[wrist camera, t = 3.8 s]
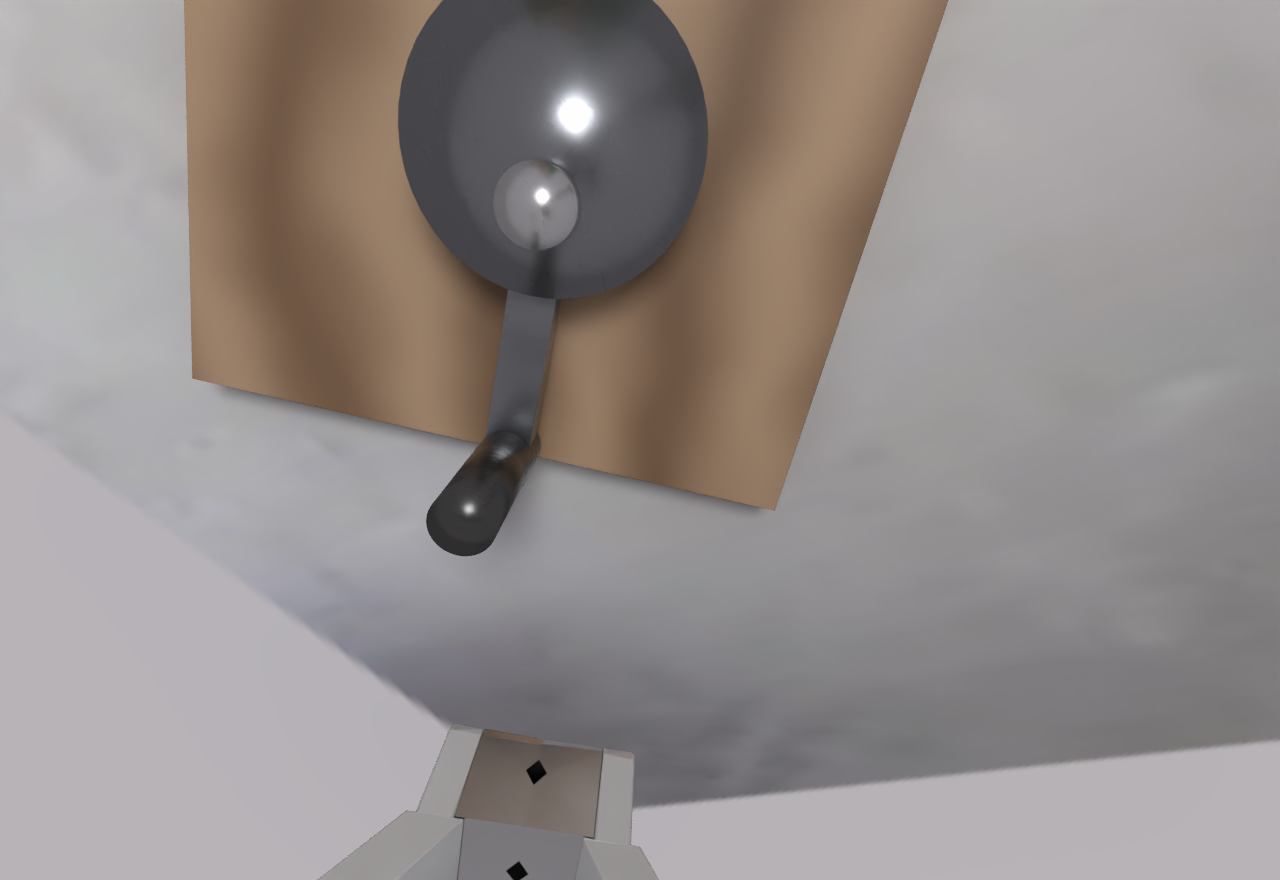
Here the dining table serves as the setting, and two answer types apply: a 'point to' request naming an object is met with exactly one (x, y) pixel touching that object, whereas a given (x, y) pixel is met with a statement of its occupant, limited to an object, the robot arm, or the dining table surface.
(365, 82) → the brown flat piece
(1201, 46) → the dining table surface
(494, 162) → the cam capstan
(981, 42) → the dining table surface
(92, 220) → the dining table surface
